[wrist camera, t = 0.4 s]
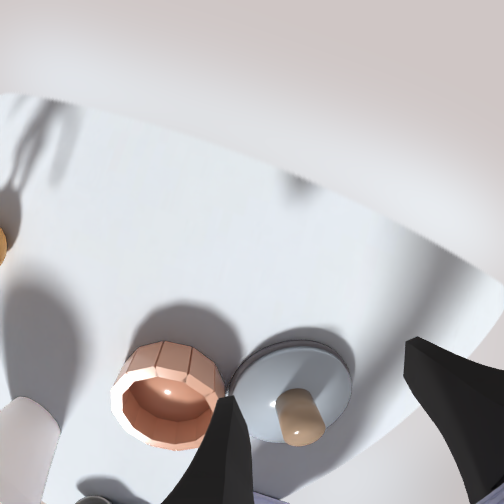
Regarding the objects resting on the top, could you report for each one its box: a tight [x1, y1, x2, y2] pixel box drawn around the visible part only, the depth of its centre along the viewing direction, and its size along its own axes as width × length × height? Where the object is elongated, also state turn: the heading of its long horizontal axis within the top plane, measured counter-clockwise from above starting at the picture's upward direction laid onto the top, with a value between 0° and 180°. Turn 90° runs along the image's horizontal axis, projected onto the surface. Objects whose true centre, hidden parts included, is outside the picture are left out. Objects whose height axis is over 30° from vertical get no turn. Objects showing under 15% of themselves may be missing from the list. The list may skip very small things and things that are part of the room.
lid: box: [231, 346, 352, 446], centre depth 20 cm, size 10×10×4 cm
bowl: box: [111, 341, 225, 451], centre depth 20 cm, size 8×8×4 cm
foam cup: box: [0, 396, 61, 504], centre depth 15 cm, size 10×9×13 cm
